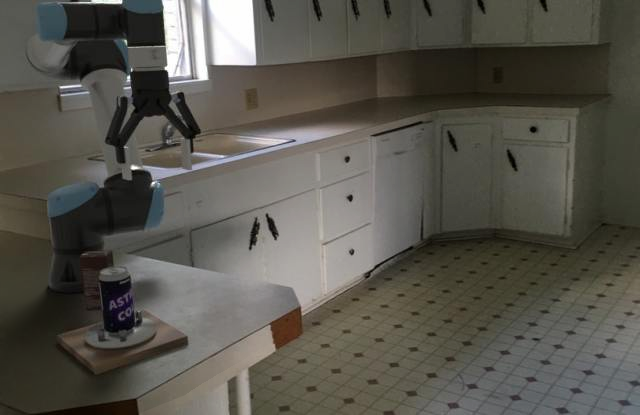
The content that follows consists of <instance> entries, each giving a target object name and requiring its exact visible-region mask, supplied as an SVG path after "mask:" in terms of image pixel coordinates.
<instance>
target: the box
mask: <svg viewBox="0 0 640 415" xmlns="http://www.w3.org/2000/svg"><path fill="white" fill-rule="evenodd" d="M79 259H80V267H81V274H82V281H83V289H84V292H83V298H84V306H85V309H86V310H96V309H97V310H99V309H101V310H102V304H101V296H100V287H99V276H100V271H101V270H103V269H105V268H108V267H113V266H115V264H114V263H115V262H114V255H113V250H111V249H110V250H106V251H86V252H84V253H83V254H82V255H81V256H79Z"/></svg>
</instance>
